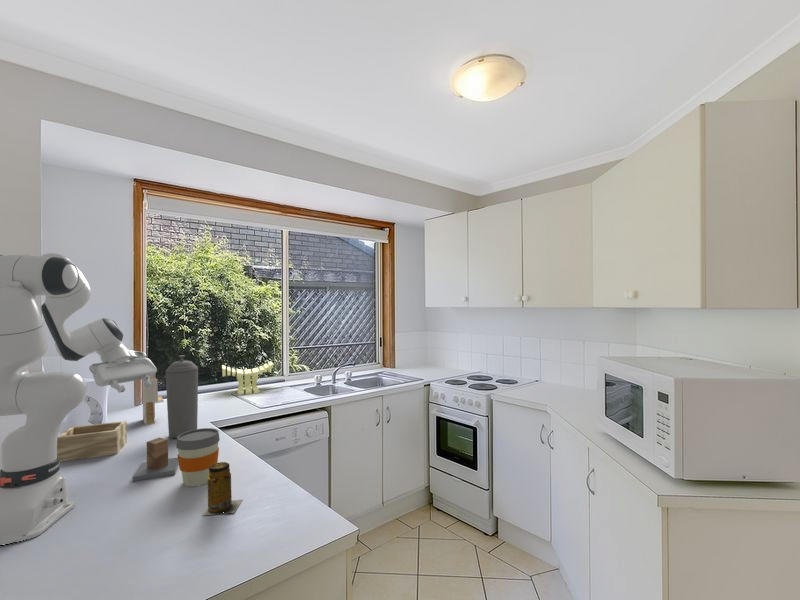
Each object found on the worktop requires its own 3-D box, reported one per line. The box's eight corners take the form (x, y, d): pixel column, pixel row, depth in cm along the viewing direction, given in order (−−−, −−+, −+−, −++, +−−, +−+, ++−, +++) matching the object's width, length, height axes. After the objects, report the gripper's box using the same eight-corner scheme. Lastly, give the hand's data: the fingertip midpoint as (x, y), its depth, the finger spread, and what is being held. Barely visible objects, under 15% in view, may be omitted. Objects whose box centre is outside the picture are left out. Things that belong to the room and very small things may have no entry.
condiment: (212, 502, 112) (211, 461, 112) (242, 500, 113) (241, 459, 113) (201, 516, 105) (201, 472, 105) (234, 514, 106) (233, 470, 106)
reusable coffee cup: (178, 493, 117) (177, 444, 117) (175, 478, 128) (174, 432, 128) (223, 482, 124) (222, 435, 124) (217, 468, 135) (216, 425, 135)
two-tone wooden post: (145, 426, 185) (144, 372, 185) (143, 420, 194) (142, 369, 194) (164, 422, 189) (163, 370, 189) (161, 417, 198) (160, 367, 198)
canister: (205, 432, 173) (204, 354, 173) (179, 441, 162) (177, 358, 162) (186, 428, 179) (185, 352, 179) (159, 437, 167) (158, 356, 167)
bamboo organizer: (117, 453, 150) (116, 430, 150) (57, 462, 143) (56, 437, 143) (126, 442, 162) (126, 420, 162) (71, 449, 155) (71, 427, 155)
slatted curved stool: (271, 386, 264) (270, 360, 264) (273, 391, 250) (273, 363, 250) (222, 391, 252) (222, 364, 252) (222, 396, 238) (222, 367, 238)
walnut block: (168, 464, 135) (167, 439, 135) (155, 470, 131) (155, 443, 131) (159, 462, 137) (159, 437, 137) (146, 468, 133) (146, 441, 133)
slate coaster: (175, 474, 131) (174, 470, 131) (132, 481, 126) (132, 476, 126) (180, 461, 142) (180, 457, 142) (141, 467, 137) (141, 462, 137)
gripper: (91, 358, 134) (108, 388, 130) (149, 351, 153) (166, 377, 149) (83, 370, 136) (100, 400, 132) (141, 362, 155) (158, 388, 151)
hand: (136, 388), depth 141 cm, fingers open, 8 cm apart
